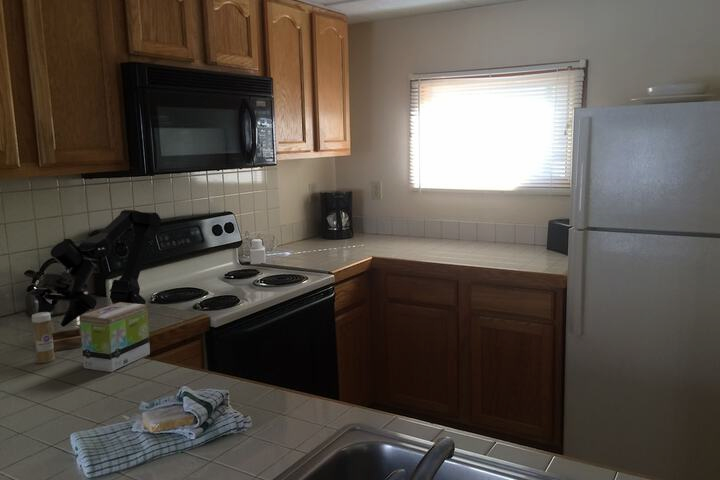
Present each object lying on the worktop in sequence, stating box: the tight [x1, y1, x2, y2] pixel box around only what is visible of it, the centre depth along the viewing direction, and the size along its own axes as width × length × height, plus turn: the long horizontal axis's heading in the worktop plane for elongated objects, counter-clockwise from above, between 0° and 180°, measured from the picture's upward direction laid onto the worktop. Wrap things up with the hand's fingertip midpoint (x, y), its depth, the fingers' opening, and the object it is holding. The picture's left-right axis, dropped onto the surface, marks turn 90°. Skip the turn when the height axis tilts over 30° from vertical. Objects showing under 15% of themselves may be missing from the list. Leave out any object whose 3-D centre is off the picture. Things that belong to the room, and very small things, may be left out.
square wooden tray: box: [52, 327, 82, 352], centre depth 182 cm, size 10×10×3 cm
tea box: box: [79, 302, 151, 373], centre depth 165 cm, size 15×10×15 cm
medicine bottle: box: [249, 237, 267, 265], centre depth 301 cm, size 7×7×12 cm
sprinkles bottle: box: [31, 312, 56, 364], centre depth 167 cm, size 5×5×14 cm
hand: (49, 324), depth 169 cm, fingers open, 9 cm apart
